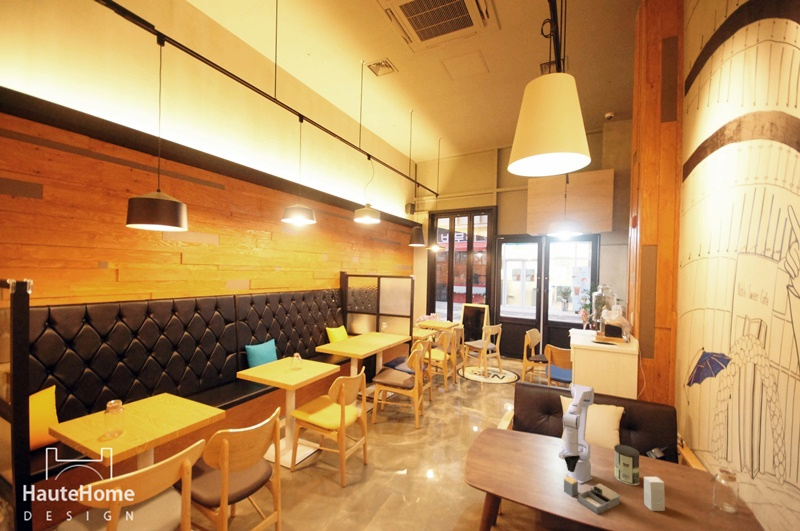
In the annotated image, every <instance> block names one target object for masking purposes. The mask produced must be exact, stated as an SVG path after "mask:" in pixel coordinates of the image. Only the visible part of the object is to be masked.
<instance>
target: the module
mask: <svg viewBox="0 0 800 531" xmlns="http://www.w3.org/2000/svg"><path fill="white" fill-rule="evenodd" d="M578 486H579V483H578V481H577V480H575V479H574V478H572V477H570V476H569V477H568V476H566V477H564V478H563V492H564V493H566V494H567V495H568V496H570V497H571V498H573V497H575V496H578V495H579V487H578Z"/></svg>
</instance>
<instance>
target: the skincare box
mask: <svg viewBox="0 0 800 531" xmlns="http://www.w3.org/2000/svg"><path fill="white" fill-rule="evenodd" d="M665 499H666V498H665V482H664V481H663V480H662V479H661V478H660V477H658V476H643V504H644V506H645V507H646V508H648V509H649V510H650V511H651V512H653V511H654V512H656V511H657V512H660V511H661V512H663V511H664V512H665V510H666V509H665V506H666V505H665V504H666V503H665V502H666V501H665Z"/></svg>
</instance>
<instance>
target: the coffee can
mask: <svg viewBox="0 0 800 531" xmlns="http://www.w3.org/2000/svg"><path fill="white" fill-rule="evenodd" d="M613 450H614V475H613V476H614V477H615V478H616V480H617V481H618V482H621V483H623V484H626V485H629V486H638V485H640V452H639V450H637V449H636V448H634V447H632V446H629V445H625V444H616V445H614V447H613Z"/></svg>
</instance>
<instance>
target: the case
mask: <svg viewBox="0 0 800 531" xmlns="http://www.w3.org/2000/svg"><path fill="white" fill-rule="evenodd" d="M597 495H599V494H598V493H596V492H595V491H593V490H591V489H590V488H589V489H588V490H586V491H584V492H582V493H580V494H579V493H578V494H577V502H578V503H580V504H581V505H582V506H584V507H586V508H587V509H588V510H590V511H591V512H593V513H595V514H597V515H600V514H602V513H604V512H606V511H608V510H610V509H613V508H614V507H616V506H618V505H620V503H621V502H620V501H621V500H620V497H621V496H620V497H618V498H616V499H614V500H612V501H610V500H608V501H605V500H603V499H601V498H600V497H598V496H597Z"/></svg>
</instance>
